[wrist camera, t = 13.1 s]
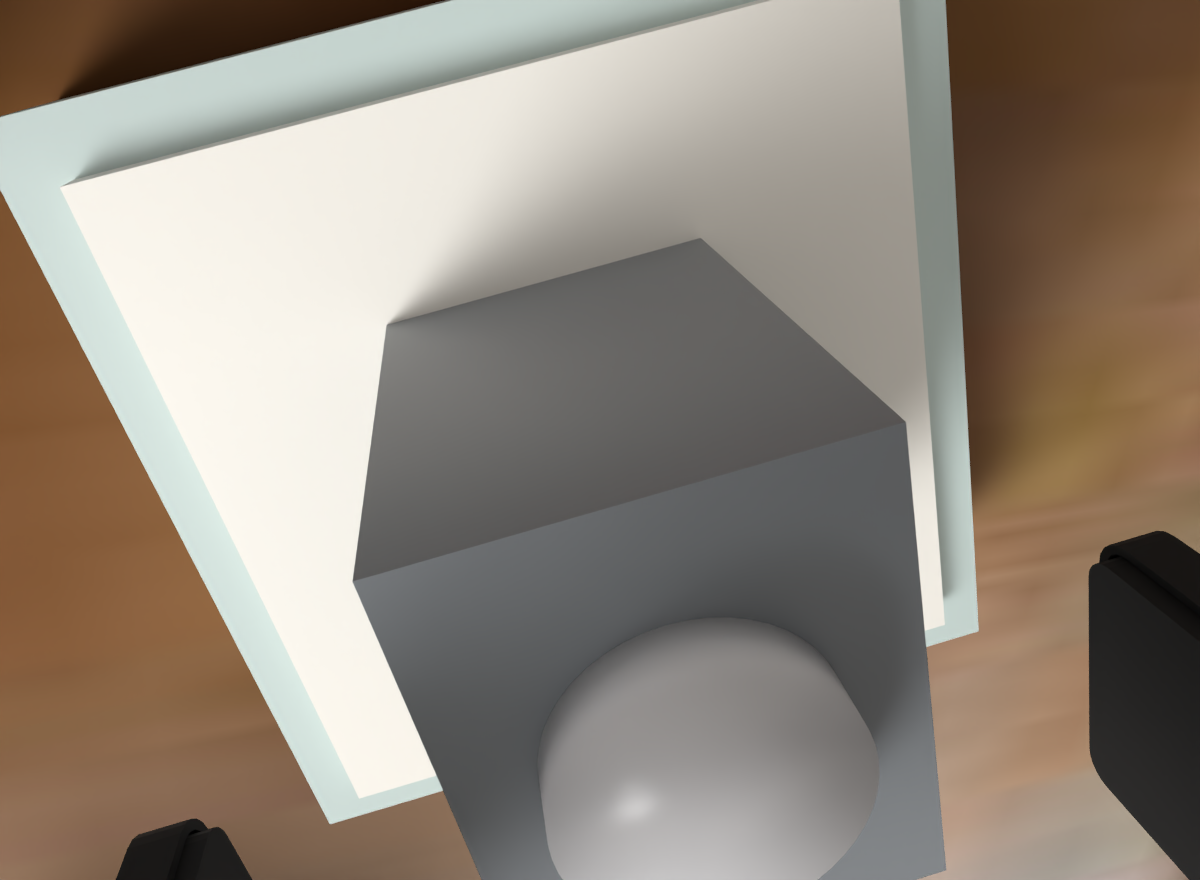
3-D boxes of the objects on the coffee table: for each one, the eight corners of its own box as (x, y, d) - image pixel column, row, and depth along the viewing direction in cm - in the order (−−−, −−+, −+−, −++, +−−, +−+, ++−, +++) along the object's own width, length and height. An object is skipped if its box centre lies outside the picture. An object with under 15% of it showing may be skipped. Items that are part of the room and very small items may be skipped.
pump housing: (700, 237, 14) (951, 462, 8) (760, 563, 17) (983, 945, 10) (386, 324, 14) (345, 637, 7) (499, 640, 17) (546, 1083, 10)
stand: (905, 546, 23) (993, 649, 19) (343, 710, 22) (327, 848, 19) (845, -104, 16) (960, -131, 13) (56, 100, 16) (-54, 131, 12)
